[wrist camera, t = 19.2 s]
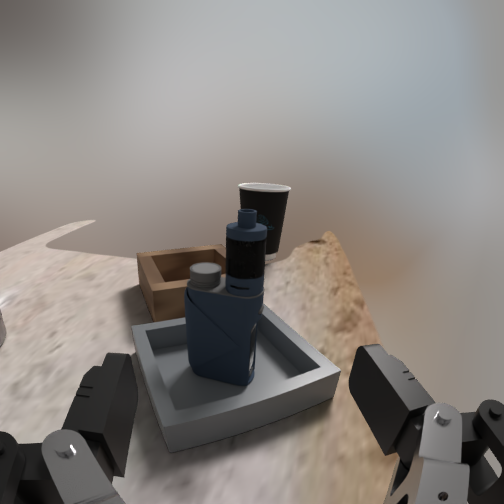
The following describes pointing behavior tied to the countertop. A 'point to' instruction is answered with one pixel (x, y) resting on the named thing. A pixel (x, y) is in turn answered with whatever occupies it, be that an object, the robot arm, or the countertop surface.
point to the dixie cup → (266, 210)
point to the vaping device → (227, 305)
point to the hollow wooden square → (172, 277)
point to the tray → (225, 394)
